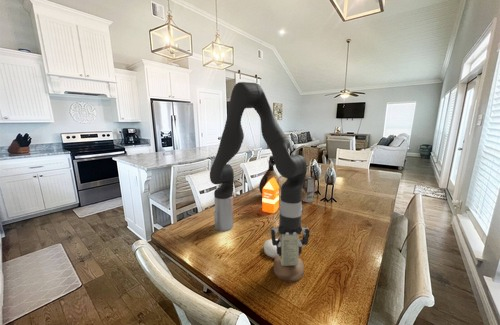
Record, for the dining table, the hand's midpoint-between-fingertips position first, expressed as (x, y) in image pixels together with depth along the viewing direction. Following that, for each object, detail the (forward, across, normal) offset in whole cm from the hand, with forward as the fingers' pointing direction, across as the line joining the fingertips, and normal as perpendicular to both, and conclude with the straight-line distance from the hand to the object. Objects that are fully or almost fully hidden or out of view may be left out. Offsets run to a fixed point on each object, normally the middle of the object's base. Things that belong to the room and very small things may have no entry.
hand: (288, 254), depth 75 cm
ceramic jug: (+7, +2, +74) cm, 74 cm away
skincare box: (+3, 0, 0) cm, 3 cm away
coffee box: (+7, +27, +68) cm, 74 cm away
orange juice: (+7, 0, +53) cm, 53 cm away
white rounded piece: (+7, -3, +12) cm, 14 cm away
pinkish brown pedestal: (+7, 0, 0) cm, 7 cm away
